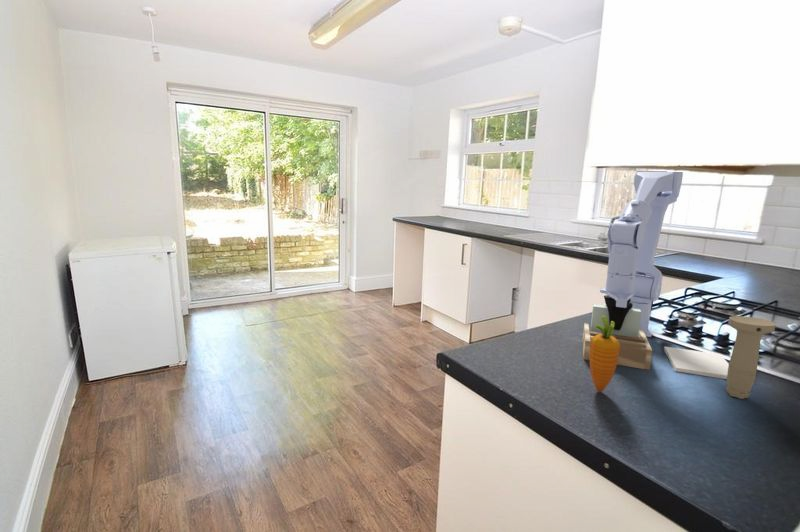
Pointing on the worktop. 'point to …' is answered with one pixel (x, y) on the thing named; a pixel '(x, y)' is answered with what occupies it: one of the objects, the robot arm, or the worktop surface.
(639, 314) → the sheet
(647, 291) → the robot arm
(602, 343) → the carrot
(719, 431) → the worktop surface
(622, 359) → the rack
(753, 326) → the handle
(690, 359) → the tile
